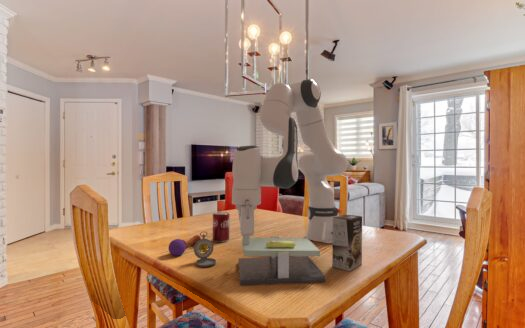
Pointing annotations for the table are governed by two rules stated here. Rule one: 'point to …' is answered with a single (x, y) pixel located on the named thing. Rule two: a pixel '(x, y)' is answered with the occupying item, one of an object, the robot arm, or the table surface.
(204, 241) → the pocket watch
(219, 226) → the soda can
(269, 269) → the levelling stand
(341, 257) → the coffee box
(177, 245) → the kendama
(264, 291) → the table surface
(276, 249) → the tilting platform
